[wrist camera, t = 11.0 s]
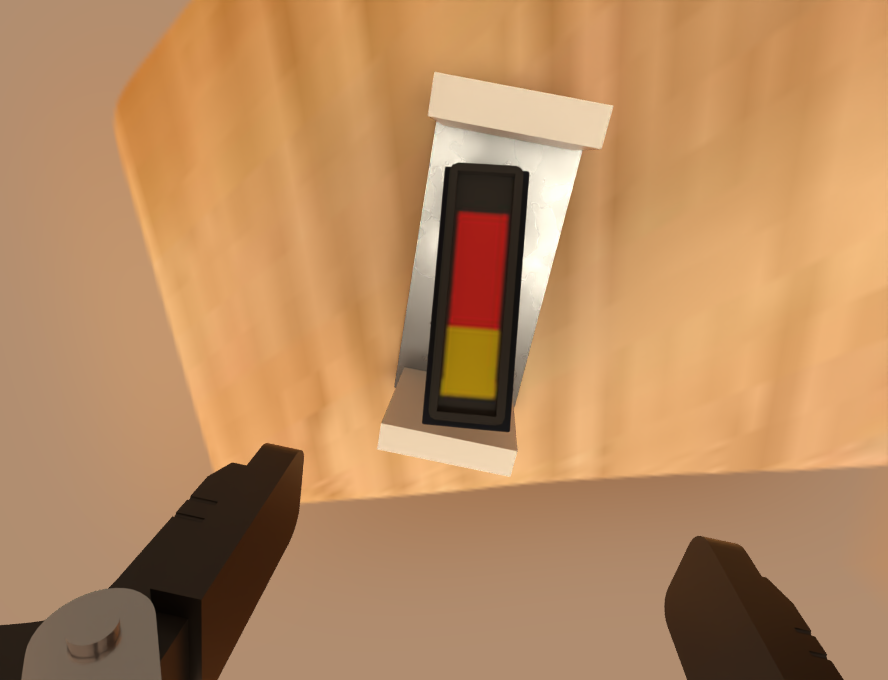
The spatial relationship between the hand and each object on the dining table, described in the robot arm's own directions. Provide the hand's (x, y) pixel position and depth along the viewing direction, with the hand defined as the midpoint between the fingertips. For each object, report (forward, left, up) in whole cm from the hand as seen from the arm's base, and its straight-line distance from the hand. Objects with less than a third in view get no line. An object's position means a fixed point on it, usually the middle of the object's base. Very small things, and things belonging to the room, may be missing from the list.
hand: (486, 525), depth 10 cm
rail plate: (0, -1, -25) cm, 25 cm away
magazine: (0, -1, -24) cm, 24 cm away
